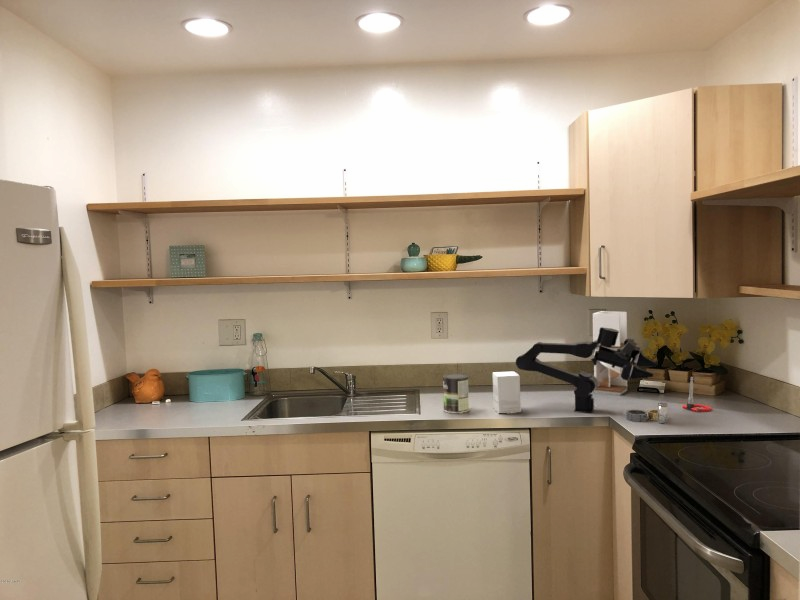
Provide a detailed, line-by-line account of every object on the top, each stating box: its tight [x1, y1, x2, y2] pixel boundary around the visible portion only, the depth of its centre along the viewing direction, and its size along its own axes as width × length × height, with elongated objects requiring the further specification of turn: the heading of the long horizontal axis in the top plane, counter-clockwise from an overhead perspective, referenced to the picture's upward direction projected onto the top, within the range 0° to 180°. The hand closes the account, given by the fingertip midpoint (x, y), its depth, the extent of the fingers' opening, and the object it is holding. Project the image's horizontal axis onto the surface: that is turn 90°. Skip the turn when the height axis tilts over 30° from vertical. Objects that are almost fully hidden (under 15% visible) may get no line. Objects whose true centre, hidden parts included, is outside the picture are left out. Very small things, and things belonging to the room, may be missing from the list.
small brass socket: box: [647, 409, 658, 421], centre depth 210 cm, size 6×6×2 cm
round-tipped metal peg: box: [657, 401, 668, 424], centre depth 205 cm, size 3×3×7 cm
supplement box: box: [492, 370, 522, 414], centre depth 228 cm, size 9×9×15 cm
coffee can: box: [442, 372, 470, 414], centre depth 231 cm, size 10×10×14 cm
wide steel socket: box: [625, 409, 648, 422], centre depth 211 cm, size 7×7×2 cm
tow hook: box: [682, 376, 712, 413], centre depth 221 cm, size 8×13×9 cm
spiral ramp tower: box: [592, 310, 628, 396], centre depth 253 cm, size 11×11×35 cm
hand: (655, 370), depth 211 cm, fingers open, 9 cm apart
